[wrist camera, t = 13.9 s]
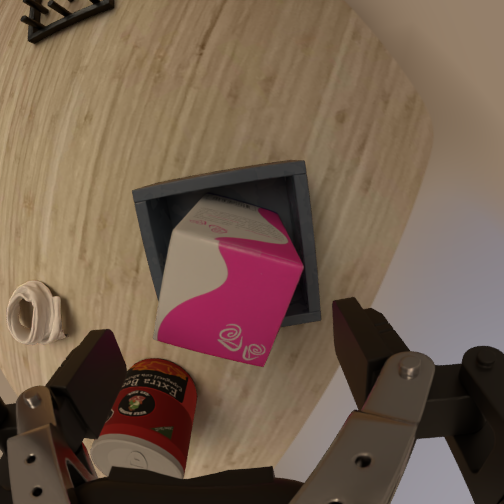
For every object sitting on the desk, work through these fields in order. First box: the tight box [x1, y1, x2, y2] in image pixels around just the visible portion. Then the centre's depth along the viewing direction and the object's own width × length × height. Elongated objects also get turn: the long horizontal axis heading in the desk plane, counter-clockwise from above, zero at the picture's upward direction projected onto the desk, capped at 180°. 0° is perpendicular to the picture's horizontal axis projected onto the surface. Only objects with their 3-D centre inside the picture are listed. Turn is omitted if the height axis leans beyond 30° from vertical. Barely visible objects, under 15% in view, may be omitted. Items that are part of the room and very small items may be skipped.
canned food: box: [91, 358, 197, 479], centre depth 24 cm, size 8×8×11 cm
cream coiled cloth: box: [6, 280, 69, 345], centre depth 25 cm, size 8×7×5 cm
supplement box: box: [153, 192, 304, 367], centre depth 19 cm, size 6×6×12 cm
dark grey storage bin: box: [132, 160, 321, 327], centre depth 22 cm, size 11×11×6 cm
